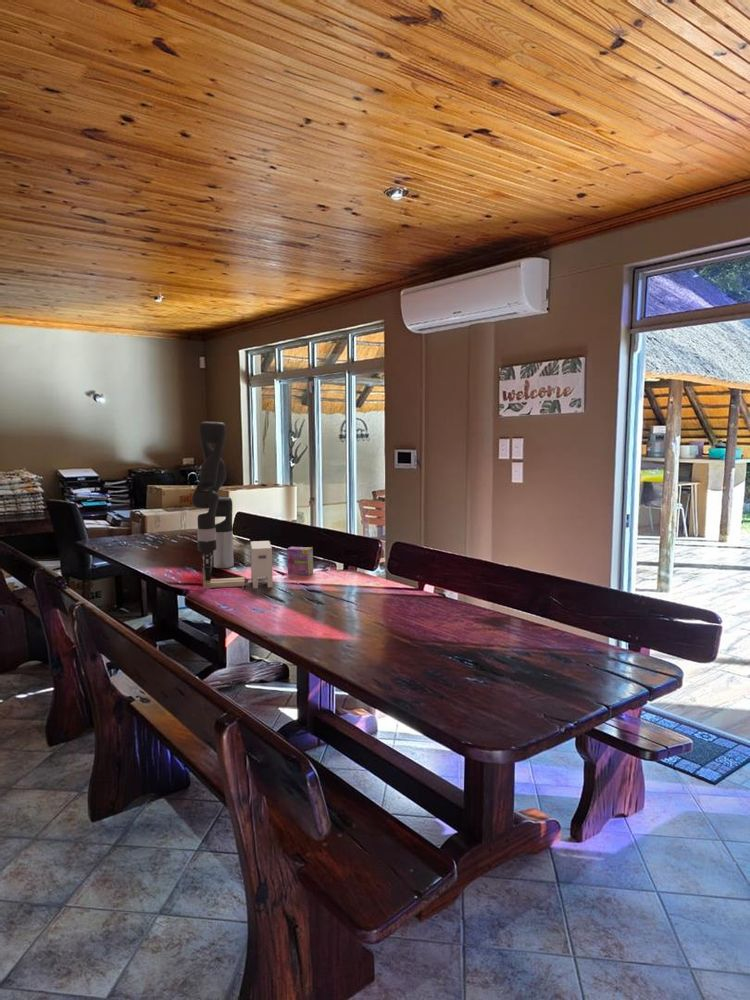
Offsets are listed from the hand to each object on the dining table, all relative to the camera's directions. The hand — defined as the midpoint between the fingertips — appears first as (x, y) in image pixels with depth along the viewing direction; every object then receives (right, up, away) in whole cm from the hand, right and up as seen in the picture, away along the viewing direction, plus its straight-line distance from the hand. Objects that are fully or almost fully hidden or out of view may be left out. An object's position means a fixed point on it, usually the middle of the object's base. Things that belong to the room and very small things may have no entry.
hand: (208, 579), depth 267 cm
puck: (+21, -2, +5) cm, 22 cm away
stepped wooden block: (+6, -3, +2) cm, 7 cm away
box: (+36, 0, +23) cm, 42 cm away
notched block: (+21, -2, +5) cm, 22 cm away
